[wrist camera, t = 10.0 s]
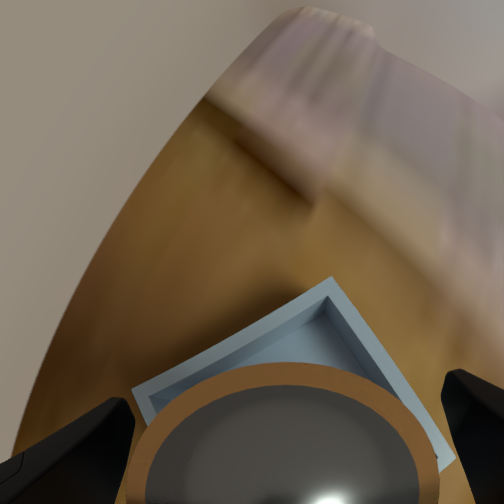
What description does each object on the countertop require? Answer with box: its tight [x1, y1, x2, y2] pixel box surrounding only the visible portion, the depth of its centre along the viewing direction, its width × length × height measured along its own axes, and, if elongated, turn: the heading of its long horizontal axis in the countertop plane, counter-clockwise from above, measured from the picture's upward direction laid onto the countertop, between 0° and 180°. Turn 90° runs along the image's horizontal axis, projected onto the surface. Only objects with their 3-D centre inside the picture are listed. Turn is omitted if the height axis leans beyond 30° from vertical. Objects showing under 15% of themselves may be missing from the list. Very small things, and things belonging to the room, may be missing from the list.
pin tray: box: [131, 276, 456, 473], centre depth 13 cm, size 11×11×4 cm
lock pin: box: [126, 362, 440, 504], centre depth 8 cm, size 6×6×12 cm
